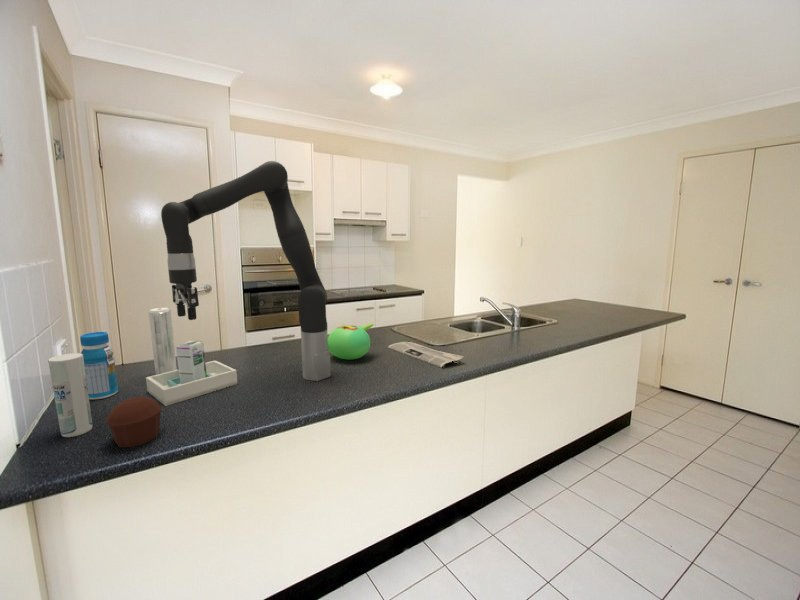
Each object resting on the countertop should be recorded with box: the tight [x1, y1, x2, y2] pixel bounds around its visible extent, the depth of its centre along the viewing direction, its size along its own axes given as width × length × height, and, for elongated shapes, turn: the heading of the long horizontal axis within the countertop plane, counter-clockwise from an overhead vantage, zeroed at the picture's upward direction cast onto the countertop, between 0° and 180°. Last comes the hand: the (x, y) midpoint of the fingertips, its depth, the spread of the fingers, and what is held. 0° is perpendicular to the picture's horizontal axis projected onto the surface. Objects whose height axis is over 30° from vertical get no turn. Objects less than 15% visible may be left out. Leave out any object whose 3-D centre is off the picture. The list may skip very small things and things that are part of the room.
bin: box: [145, 360, 238, 407], centre depth 123 cm, size 16×22×5 cm
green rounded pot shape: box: [328, 323, 374, 361], centre depth 154 cm, size 18×17×15 cm
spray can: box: [48, 352, 93, 438], centre depth 94 cm, size 6×6×20 cm
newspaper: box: [387, 341, 465, 368], centre depth 158 cm, size 35×12×4 cm, turn 39°
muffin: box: [104, 396, 163, 448], centre depth 92 cm, size 12×11×10 cm
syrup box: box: [175, 340, 207, 385], centre depth 122 cm, size 6×6×14 cm
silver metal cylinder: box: [148, 307, 178, 375], centre depth 132 cm, size 6×6×25 cm
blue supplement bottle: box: [79, 331, 119, 401], centre depth 116 cm, size 8×8×20 cm
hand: (187, 317), depth 120 cm, fingers open, 8 cm apart
